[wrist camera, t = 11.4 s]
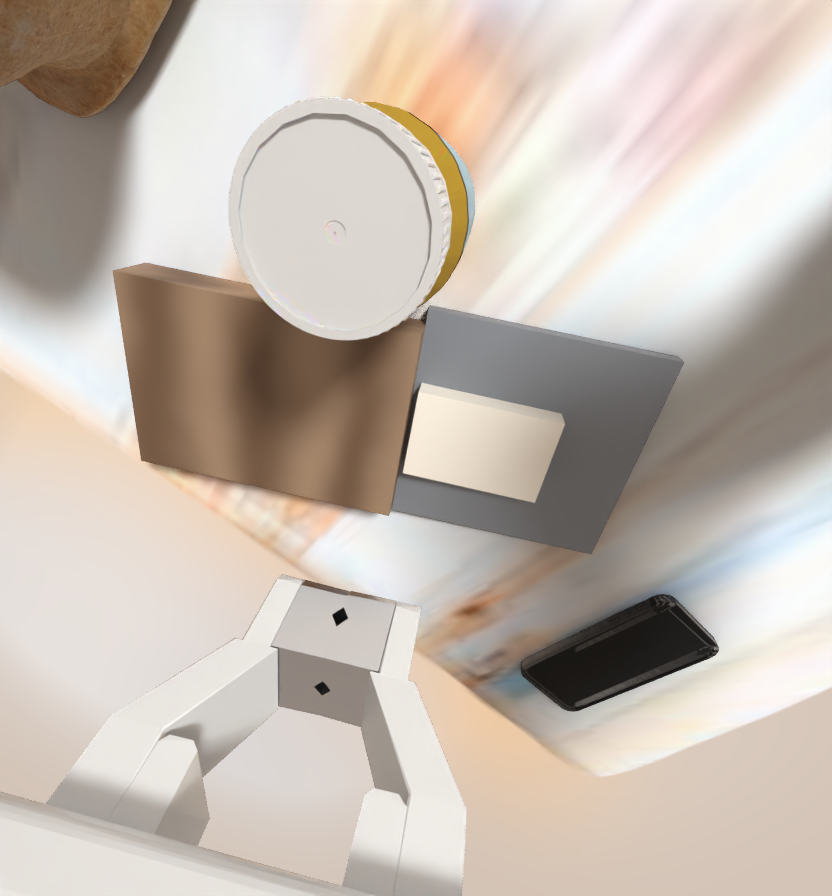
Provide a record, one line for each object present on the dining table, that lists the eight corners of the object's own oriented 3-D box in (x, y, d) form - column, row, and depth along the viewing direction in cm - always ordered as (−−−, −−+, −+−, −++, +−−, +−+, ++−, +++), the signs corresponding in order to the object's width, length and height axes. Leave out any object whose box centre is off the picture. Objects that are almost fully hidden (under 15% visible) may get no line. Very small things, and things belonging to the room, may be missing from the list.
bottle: (339, 140, 25) (176, 97, 12) (472, 121, 24) (451, 51, 11) (360, 278, 28) (250, 361, 15) (477, 268, 27) (467, 348, 14)
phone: (724, 652, 38) (569, 714, 45) (718, 640, 39) (568, 703, 46) (668, 596, 36) (515, 670, 42) (664, 585, 37) (514, 659, 43)
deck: (427, 321, 29) (421, 335, 26) (396, 491, 36) (388, 515, 33) (145, 262, 30) (112, 270, 27) (166, 440, 36) (141, 460, 33)
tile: (561, 413, 30) (565, 424, 28) (533, 490, 33) (534, 502, 31) (421, 382, 30) (418, 391, 29) (406, 461, 33) (402, 472, 32)
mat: (678, 356, 28) (683, 362, 27) (588, 545, 36) (591, 554, 35) (430, 305, 28) (428, 309, 28) (394, 501, 36) (391, 509, 35)
